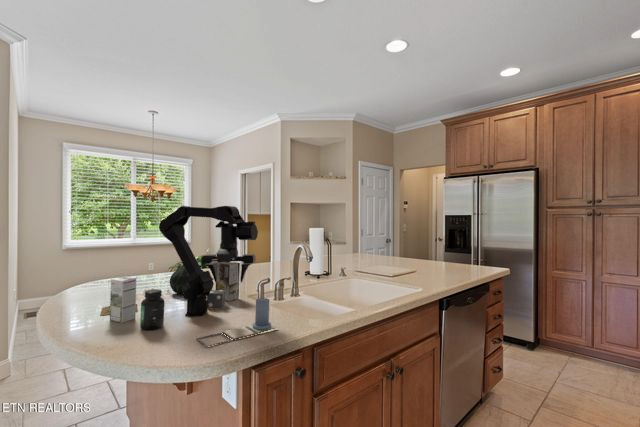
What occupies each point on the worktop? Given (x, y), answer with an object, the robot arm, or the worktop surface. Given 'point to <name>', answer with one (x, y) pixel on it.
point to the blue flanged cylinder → (262, 315)
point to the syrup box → (123, 299)
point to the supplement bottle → (152, 311)
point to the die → (216, 299)
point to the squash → (179, 281)
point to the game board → (236, 334)
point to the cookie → (106, 311)
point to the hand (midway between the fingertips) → (228, 282)
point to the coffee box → (228, 279)
